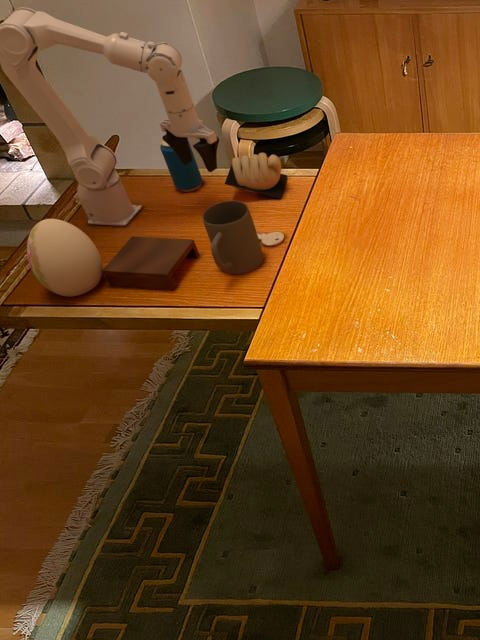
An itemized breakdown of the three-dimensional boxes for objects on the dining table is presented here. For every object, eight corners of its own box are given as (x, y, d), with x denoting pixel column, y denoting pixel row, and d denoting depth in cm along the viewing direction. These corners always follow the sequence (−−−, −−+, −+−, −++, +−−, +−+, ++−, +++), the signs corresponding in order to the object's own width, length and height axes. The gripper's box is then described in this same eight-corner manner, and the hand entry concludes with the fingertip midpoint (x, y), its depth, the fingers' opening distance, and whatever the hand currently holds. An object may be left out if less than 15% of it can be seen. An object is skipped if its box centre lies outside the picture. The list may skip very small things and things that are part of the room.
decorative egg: (61, 267, 150) (27, 205, 140) (119, 265, 150) (88, 203, 140) (36, 304, 141) (-3, 241, 131) (97, 302, 141) (62, 238, 131)
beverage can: (207, 179, 174) (191, 133, 166) (197, 193, 170) (180, 146, 161) (182, 179, 175) (165, 133, 167) (171, 193, 170) (153, 146, 162)
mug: (229, 248, 152) (211, 199, 144) (270, 249, 151) (255, 200, 143) (204, 288, 143) (184, 238, 134) (248, 289, 142) (230, 239, 133)
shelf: (110, 286, 145) (101, 270, 142) (139, 251, 153) (131, 236, 150) (174, 290, 143) (167, 274, 140) (199, 255, 151) (193, 239, 148)
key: (288, 233, 154) (274, 246, 151) (288, 235, 155) (275, 247, 151) (247, 224, 158) (233, 237, 155) (247, 225, 158) (233, 238, 155)
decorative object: (292, 148, 168) (286, 172, 161) (285, 184, 175) (279, 208, 168) (236, 133, 164) (227, 156, 158) (231, 170, 171) (223, 194, 164)
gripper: (218, 105, 148) (237, 164, 158) (169, 93, 154) (190, 151, 163) (193, 119, 144) (214, 179, 154) (144, 107, 150) (166, 165, 159)
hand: (200, 166), depth 158 cm, fingers open, 7 cm apart
